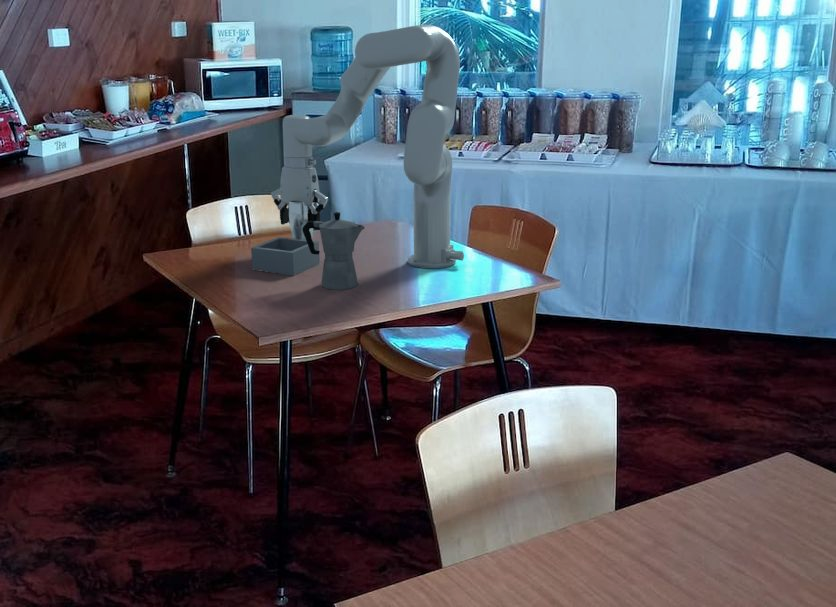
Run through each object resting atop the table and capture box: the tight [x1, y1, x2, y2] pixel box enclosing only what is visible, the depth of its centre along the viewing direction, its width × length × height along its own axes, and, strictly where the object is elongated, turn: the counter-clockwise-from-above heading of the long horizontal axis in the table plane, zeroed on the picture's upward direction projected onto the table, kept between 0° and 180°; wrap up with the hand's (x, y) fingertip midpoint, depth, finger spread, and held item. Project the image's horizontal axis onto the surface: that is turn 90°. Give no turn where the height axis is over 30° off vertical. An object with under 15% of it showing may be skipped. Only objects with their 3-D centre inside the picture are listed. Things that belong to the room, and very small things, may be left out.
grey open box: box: [250, 236, 320, 277], centre depth 237 cm, size 12×12×6 cm
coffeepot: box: [302, 211, 365, 291], centre depth 220 cm, size 15×9×18 cm, turn 78°
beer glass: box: [287, 201, 314, 240], centre depth 248 cm, size 7×7×15 cm
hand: (300, 225), depth 248 cm, fingers open, 9 cm apart
